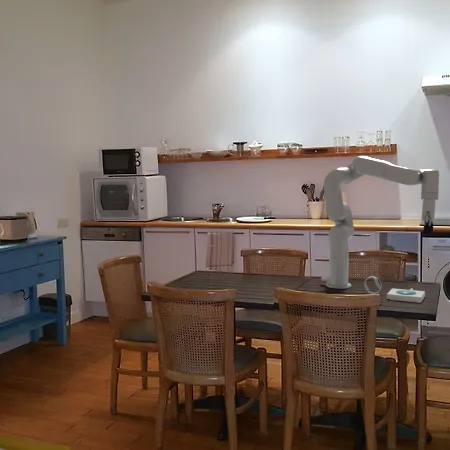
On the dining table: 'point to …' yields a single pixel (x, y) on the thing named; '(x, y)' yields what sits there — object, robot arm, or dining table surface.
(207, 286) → the dining table surface
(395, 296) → the charging dock
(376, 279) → the watch
